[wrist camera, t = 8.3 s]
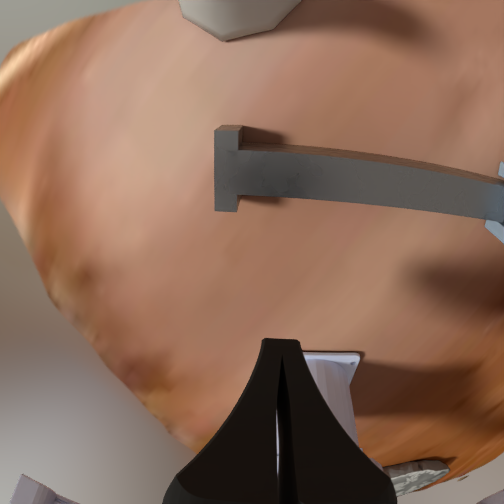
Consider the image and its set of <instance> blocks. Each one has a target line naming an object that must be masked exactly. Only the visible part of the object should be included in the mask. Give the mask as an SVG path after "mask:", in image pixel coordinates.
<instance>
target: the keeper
mask: <svg viewBox="0 0 504 504" xmlns="http://www.w3.org/2000/svg"><path fill="white" fill-rule="evenodd" d="M498 175H500V176H502V177H503V178H504V162H501V163H500V168H499V173H498ZM485 227H486V228H487V229H488V230H489V231H490V232H491V233H492V234H494V235H495V236H496V237H497V238H498V239H499V240H500V241H501V242H502V243H503V244H504V223H503V222H497V221H491V220H486V223H485Z"/></svg>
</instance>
